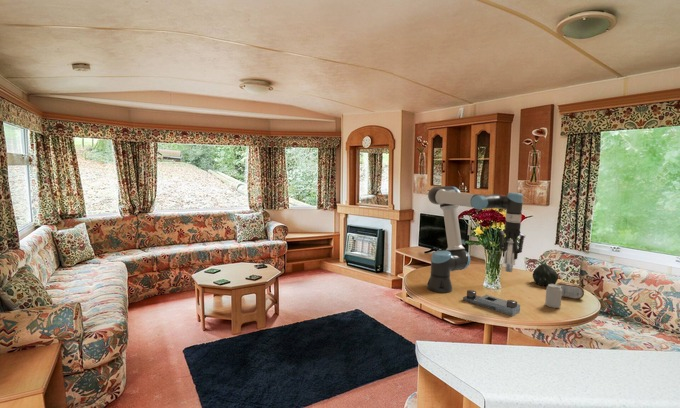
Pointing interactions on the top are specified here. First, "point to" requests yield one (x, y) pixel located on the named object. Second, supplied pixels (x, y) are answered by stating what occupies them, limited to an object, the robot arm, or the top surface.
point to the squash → (545, 275)
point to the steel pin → (509, 256)
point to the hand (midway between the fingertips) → (509, 263)
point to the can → (553, 296)
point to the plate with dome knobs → (493, 303)
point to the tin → (571, 290)
